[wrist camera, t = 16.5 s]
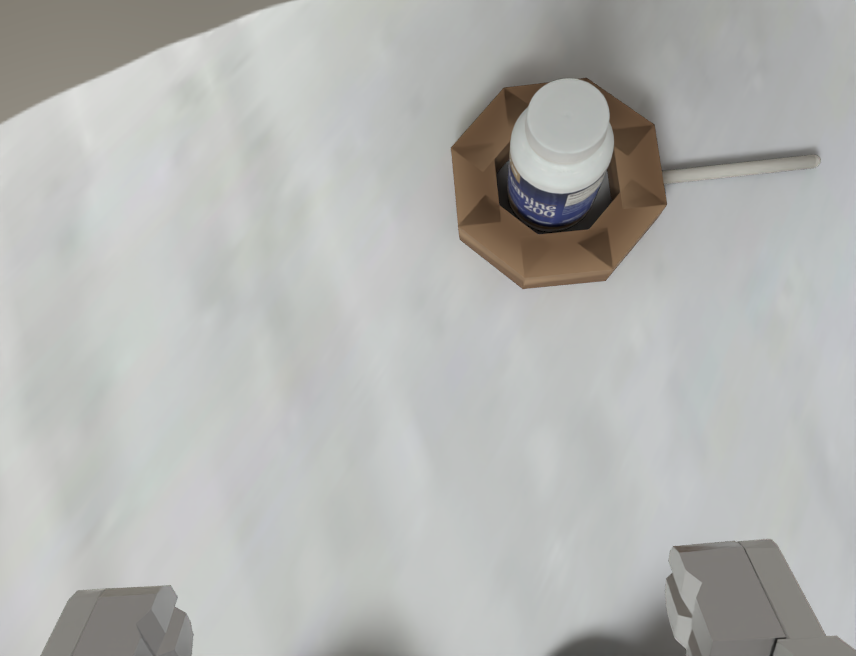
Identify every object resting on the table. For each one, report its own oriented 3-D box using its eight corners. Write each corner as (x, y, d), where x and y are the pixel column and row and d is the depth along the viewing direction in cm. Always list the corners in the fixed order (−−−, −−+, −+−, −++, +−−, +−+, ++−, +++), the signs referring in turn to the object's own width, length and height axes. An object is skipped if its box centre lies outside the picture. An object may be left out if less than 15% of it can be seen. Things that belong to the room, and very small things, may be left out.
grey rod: (653, 187, 42) (656, 182, 41) (651, 175, 42) (654, 169, 41) (818, 169, 41) (824, 164, 40) (815, 157, 41) (821, 151, 40)
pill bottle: (489, 187, 42) (489, 109, 33) (555, 136, 43) (574, 43, 33) (544, 251, 41) (560, 189, 32) (612, 198, 42) (648, 121, 32)
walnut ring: (464, 294, 41) (463, 284, 39) (448, 114, 44) (446, 94, 41) (665, 275, 40) (676, 263, 38) (637, 92, 43) (646, 70, 40)
